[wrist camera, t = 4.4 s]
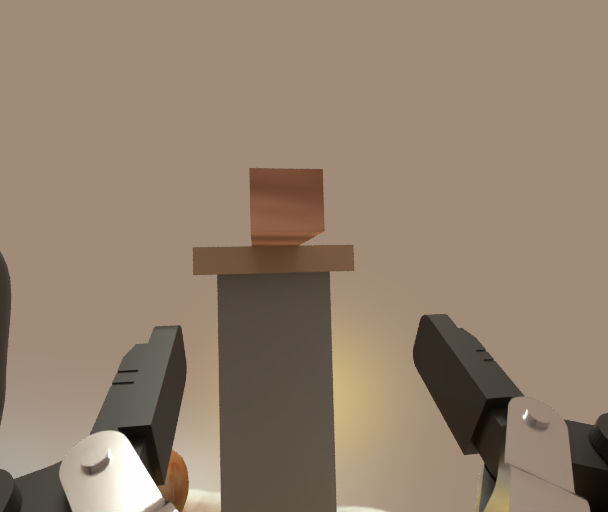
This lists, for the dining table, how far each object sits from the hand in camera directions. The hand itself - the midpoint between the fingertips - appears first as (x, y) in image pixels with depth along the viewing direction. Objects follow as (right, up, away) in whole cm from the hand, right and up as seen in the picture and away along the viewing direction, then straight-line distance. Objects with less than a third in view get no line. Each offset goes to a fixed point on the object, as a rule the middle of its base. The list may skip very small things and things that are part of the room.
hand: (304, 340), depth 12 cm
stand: (-2, -29, +22) cm, 36 cm away
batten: (-3, +3, +18) cm, 18 cm away
